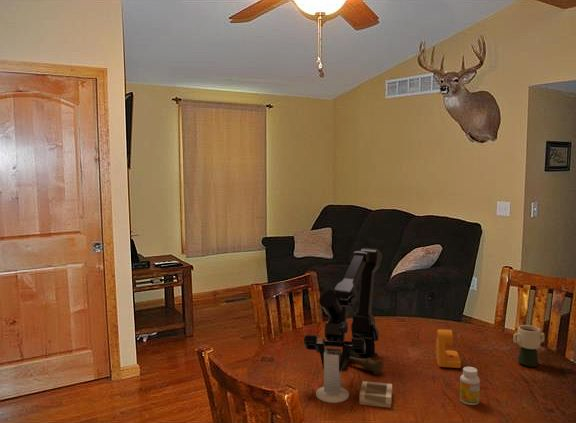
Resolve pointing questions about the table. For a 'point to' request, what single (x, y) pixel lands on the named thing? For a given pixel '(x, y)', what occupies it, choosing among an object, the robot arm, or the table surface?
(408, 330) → the table surface
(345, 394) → the coaster
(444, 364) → the bracket
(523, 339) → the character mug
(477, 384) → the supplement bottle
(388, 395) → the collar
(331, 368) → the steel peg
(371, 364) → the kendama
